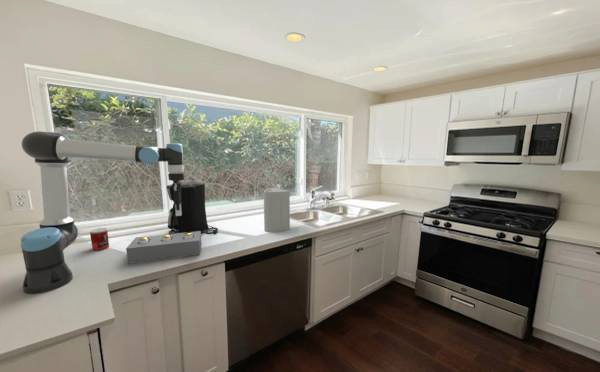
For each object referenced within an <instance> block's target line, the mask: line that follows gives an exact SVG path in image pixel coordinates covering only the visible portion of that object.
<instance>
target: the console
mask: <svg viewBox="0 0 600 372" xmlns="http://www.w3.org/2000/svg"><path fill="white" fill-rule="evenodd" d="M185 233H186V232H185ZM192 233H193V238H186V239H184V233H175V234H172V233H170V234H171V240H168V241H162V236H163V235H166V234H156V235H146V236H147V237H149V243H139V238H141V237H142V236H138V237H137V236H136V237H135V238H134V239H133V240H132V241H131V242H130V243H129V245H128V246H127V247H126V248H125V249H126V250H125V252H126V259H127V264H131V263H130V262H136V263H140V262H139V261H144V262H148V261H147V260H151V261H155V260H154V259H159V260H163V259H162V258H167V259H172V257H175V258H180V257H179V256H183V257H188V256H187V255H191V256H197V255H196V254H199V255H201V252H202V251H201V250H202V249H201V248H202V234H201V231H195V232H192Z"/></svg>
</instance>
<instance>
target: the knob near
mask: <svg viewBox="0 0 600 372" xmlns="http://www.w3.org/2000/svg"><path fill="white" fill-rule="evenodd" d="M147 236H148V235H146V236H140V237H141V238H139V243H149V237H147Z"/></svg>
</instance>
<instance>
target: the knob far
mask: <svg viewBox="0 0 600 372" xmlns="http://www.w3.org/2000/svg"><path fill="white" fill-rule="evenodd" d="M186 238H193V233H192V232H186V233H184V239H186Z"/></svg>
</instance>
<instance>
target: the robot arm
mask: <svg viewBox="0 0 600 372" xmlns="http://www.w3.org/2000/svg"><path fill="white" fill-rule="evenodd" d="M21 148H22V149H23V151H24V153H25V154H27V155H28V156H29V157H31V158H34V163H35V164H37V165H38V166H39V168H40V169H39V170H40V181H41V182H40V183H41V195H42V209H43V210H42V211H43V219H42V220H41V221H40V222H39V228H37V229H34V230H31V231H29V232H26V233H25V234H23V235H22V236H21V238H20V249H21V252H22V256H23V262H24V265H25V274H24V275H25V276H24V280H23V283H22V291H23V292H24V293H25V294H32V295H33V294H40V293H44V292H49V291H53V290H55V289H57V288H61V287H63V286H65V285H66V284H68V283H70V282H71V281H72V280H73V278H74V276H73V272H72V270H71V269H70V267H69V266H68V264H67V263H66V260H65V255H64V250H65V249H67V248H68V247H69V246H71V245H72V244H73V243H74V242H75V241H76V240H77V238H78V237H79V236H78V235H79V228H78V227H77V225H76V224H75V219H74V218H73V217H71V216H70V201H69V185H68V183H69V181H68V170H67V169H68V166H69V165H71V163H72V159H84V160H99V161H116V162H125V163H126V162H128V163H142V164H146V165H153V164H155V163H157V162H160V163H161V162H167V173H168V175H167V176H168V180H169V181H173V182H172V184H171V185H172V187H173V194H174V202H173V204H175V211H176V216H181V215H182V213H181V203H182V202H181V183H182V182H181V181H183V180H185V173H184V170H185V165H184V152H183V150H184V149H183V145H182V144H181V143H170V142H169V143H166V146H164V147H163V146H162V147H161V146H141V145H132V144H131V145H130V144H122V143H121V144H120V143H110V142H99V141H90V140H81V139H80V140H79V139H71V138H69V137H68V136H66V135H64V134H61V133H59V132H54V131H51V132H50V131H49V132H48V131H33V132H30V133H27V134H26V135H25V136H24V137H23V138H22V141H21Z"/></svg>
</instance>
